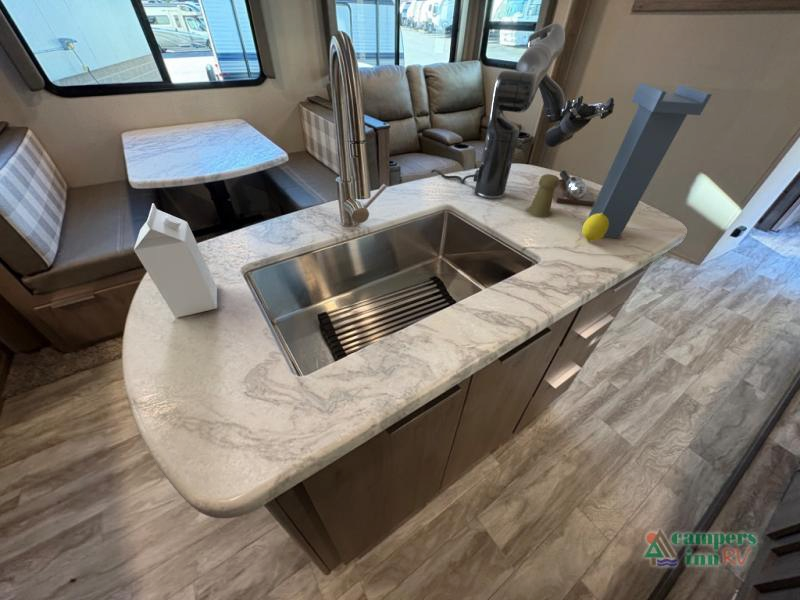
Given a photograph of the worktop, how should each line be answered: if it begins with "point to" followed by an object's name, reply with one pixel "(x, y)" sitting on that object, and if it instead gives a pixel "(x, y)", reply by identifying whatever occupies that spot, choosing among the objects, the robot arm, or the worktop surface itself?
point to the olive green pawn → (544, 196)
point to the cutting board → (564, 197)
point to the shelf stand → (644, 150)
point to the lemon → (595, 227)
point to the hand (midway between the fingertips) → (596, 100)
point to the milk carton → (176, 264)
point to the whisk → (574, 185)
